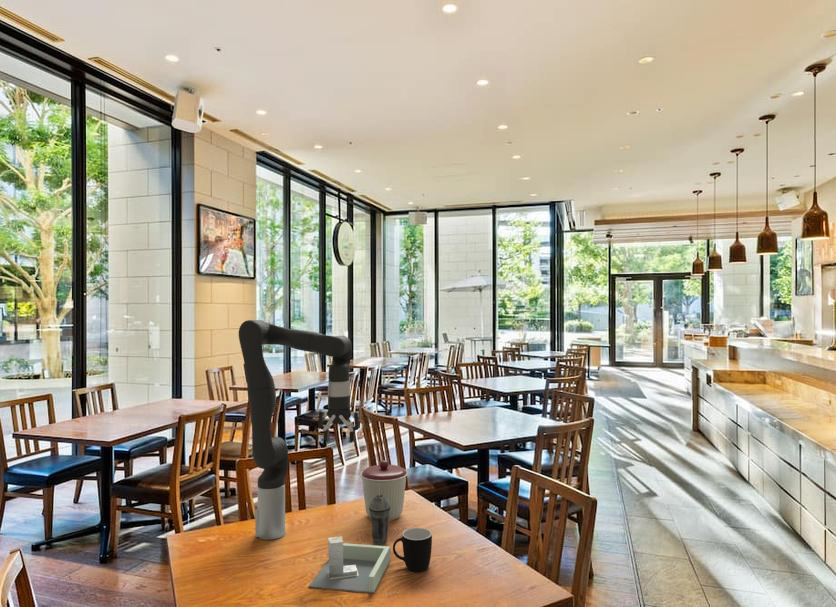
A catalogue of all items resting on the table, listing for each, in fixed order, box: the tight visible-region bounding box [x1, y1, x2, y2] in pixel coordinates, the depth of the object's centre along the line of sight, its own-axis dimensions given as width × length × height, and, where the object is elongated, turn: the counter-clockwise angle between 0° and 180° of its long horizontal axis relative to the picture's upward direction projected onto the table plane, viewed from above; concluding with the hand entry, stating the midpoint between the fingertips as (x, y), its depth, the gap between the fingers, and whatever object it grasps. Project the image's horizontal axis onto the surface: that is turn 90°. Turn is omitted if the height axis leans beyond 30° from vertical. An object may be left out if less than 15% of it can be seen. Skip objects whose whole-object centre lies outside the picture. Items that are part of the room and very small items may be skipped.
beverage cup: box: [369, 483, 390, 546], centre depth 176 cm, size 7×7×20 cm
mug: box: [392, 527, 433, 573], centre depth 158 cm, size 12×9×10 cm
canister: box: [359, 459, 409, 522], centre depth 198 cm, size 18×18×21 cm
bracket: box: [327, 535, 357, 579], centre depth 154 cm, size 8×4×10 cm, turn 103°
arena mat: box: [308, 559, 391, 594], centre depth 154 cm, size 19×19×1 cm
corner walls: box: [343, 542, 391, 594], centre depth 155 cm, size 19×19×4 cm
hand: (339, 441), depth 179 cm, fingers open, 8 cm apart
